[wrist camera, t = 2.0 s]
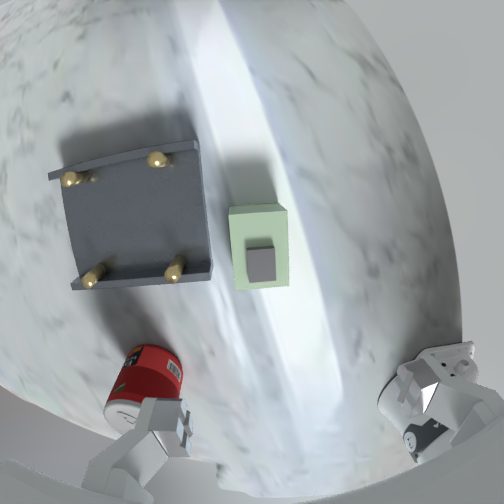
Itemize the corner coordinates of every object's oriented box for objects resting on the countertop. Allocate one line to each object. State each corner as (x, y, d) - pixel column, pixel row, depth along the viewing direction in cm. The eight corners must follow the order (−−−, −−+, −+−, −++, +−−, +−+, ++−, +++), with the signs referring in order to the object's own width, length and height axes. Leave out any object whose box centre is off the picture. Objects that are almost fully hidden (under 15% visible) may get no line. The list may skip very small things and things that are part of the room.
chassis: (199, 142, 26) (191, 138, 21) (213, 266, 30) (209, 285, 25) (66, 170, 25) (41, 174, 20) (86, 277, 29) (67, 295, 24)
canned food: (133, 333, 32) (104, 393, 21) (191, 356, 33) (179, 421, 23) (124, 371, 34) (101, 427, 23) (176, 391, 35) (164, 451, 25)
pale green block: (278, 202, 28) (288, 212, 23) (280, 266, 30) (290, 289, 25) (229, 206, 28) (228, 216, 22) (235, 270, 30) (235, 294, 25)
